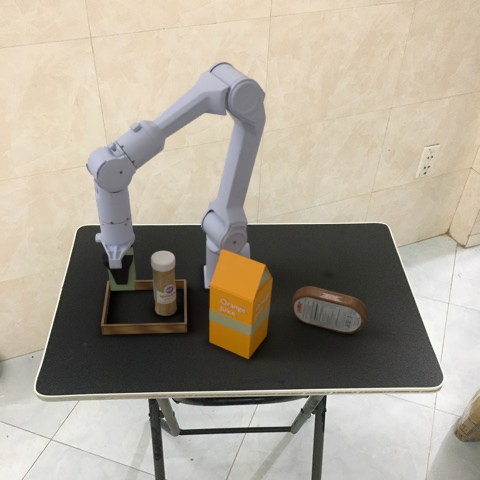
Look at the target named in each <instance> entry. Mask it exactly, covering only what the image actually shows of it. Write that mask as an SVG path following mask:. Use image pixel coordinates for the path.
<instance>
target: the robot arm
mask: <svg viewBox="0 0 480 480" xmlns="http://www.w3.org/2000/svg"><path fill="white" fill-rule="evenodd" d="M266 95H267V94H266V92H265V91H264V89H263V88H262V87H261V85H260V84H259V83H258V81H256V79H253V78H251V77H249V76H247V75H246V74H245V73H243V72H242V71H240V70H239V69H237V68H236V67H234V65H232V63H230V62H228V61H218V62H216V63H214V64H213V65H211V66H210V68H209V69H208V70H205V71H204V72H202V73H200V75H199V77H198V79H197V81H196V82H195V84H194V85H193V86H191V88H190V89H188V90H187V91H186V92H185V93H184V94H183V95H181V96H180V97H179V98H178V99H177V100H176V101H174V102H173V103H172V104H171V105H169V107H167V108H166V109H165V110H164V111H163V112H161V114H160V115H158V116H157V117H156V118H155V119H154V120H146V119H142V120H140V121H139V122H137V121H134V122H133V123H131V124H130V125H129V128H130V129H129V130H127V131H126V132H124V133H123V134H122V135H120V136H119V137H118V138H117V139H115V140H114V141H110V142H108V143H107V145H106V146H105V145H104V146H100V147H97V148H96V149H94V150H93V151H91V153H90V155H89V157H88V158H87V163H85V167H86V170H87V172H88V173H89V174H90V175H91V176H92V177H93V185H94V192H95V193H94V196H95V202H96V203H95V204H96V208H97V210H96V211H97V216H98V221H99V227H100V232H98V233H95V236H94V237H95V238H94V239H95V242H96V243H101V244H102V246H103V248H104V250H105V252H104V253H101V263H102V264H103V266H105V267H106V268H107V270H108V269H109V271H110V272H111V274H112V276H113V279H114V281H115V283H116V284H117V285H127V283H128V277H129V268H130V266H131V264H132V262H133V256H134V257H135V255H125V253H126V252H127V251H128V249H129V248H130V247H133V245H134V243H135V241H136V232H135V231H134V227H133V217H132V210H131V201H130V200H131V199H130V192H129V186H130V184H131V182H132V180H133V176H134V175H135V174H136V173H137V170H139V169H140V168H141V167H143V166H144V165H145V164H146V163H148V162H149V161H151V160H152V159H153V158H154V157H156V156H157V155H158V154H160V153H161V152H162V151H164V149H165V144H166V140H167V138H169V137H170V136H173V134H175V133H177V132H178V131H180V130H181V129H183V128H184V127H186V126H187V125H189V124H190V123H192V122H193V121H195V120H197V119H198V118H199V117H201V116H202V115H205V114H210V115H217V116H224V117H225V116H227V114H228V115H229V116H230V118H231V119H232V120H233V127H232V130H231V135H230V140H229V144H228V149H227V153H226V157H225V161H224V164H223V165H224V166H223V170H222V174H221V178H220V183H219V188H218V191H217V196H216V199H214V200H211V201H209V202H208V206H207V209H206V211H205V212H204V214H203V215H202V217H201V220H200V227H201V230H202V231H203V232H204V233H206V235H205V236H206V238H205V239H206V240H205V241H206V243H205V244H206V245H205V265H203V276H204V277H203V278H204V279H203V280H204V289H205V290H210V284H211V281H212V278H213V275H214V272H215V269H216V266H217V263H218V260H219V256H220V253H221V250H222V249H225V250H227V251H230V252H233V253H236V254H238V255H241V256H244V257H246V258H249V259H251V248H250V247H251V246H250V243H249V242H248V233H247V228H248V224H249V223H248V218H247V216H246V211H245V209H244V206H245V205H244V204H245V201H246V198H247V194H248V189H249V186H250V182H251V178H252V175H253V171H254V168H255V164H256V161H257V160H256V159H257V155H258V152H259V149H260V144H261V140H262V137H263V133H264V129H265V126H266V120H267V115H266V109H265V103H264V102H265V98H266Z"/></svg>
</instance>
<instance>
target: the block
mask: <svg viewBox="0 0 480 480" xmlns="http://www.w3.org/2000/svg"><path fill="white" fill-rule="evenodd" d="M125 255H134V247H133V246H132V247H130V248H129V249H128V251H127V252H126V253H125ZM107 271H108V277H109V278H108V279H109V281H110V285H111V291H114V292H115V291H136V290H135V282H136V280H137V272H136V271H137V270H136V263H135V255H134V256H133V262H132V264H131V266H130V268H129V277H128V283H127V285H117V284H116V283H115V281H114V279H113V276H112V274H111V272H110V271H109V269H108V268H107Z"/></svg>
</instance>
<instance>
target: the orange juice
mask: <svg viewBox="0 0 480 480" xmlns="http://www.w3.org/2000/svg"><path fill="white" fill-rule="evenodd" d="M273 279H274V278H273V276H272V273H271V272H270V270H269V268H268V266H267V264H265V263H262V262H259V261H257V260H255V259H252V258H250V259H249V258H246V257H244V256H241V255H238V254H236V253H233V252H230V251H227V250H225V249H222V250H221V253H220V256H219V260H218V263H217V266H216V269H215V272H214V275H213V278H212V281H211V284H210V289H209V309H208V310H209V311H208V312H209V313H208V315H209V316H208V320H209V335H208V337H209V339H208V340H209V342H208V343H210V344H213V345H215V346H218V347H220V348H222V349H224V350H227V351H229V352H231V353H234V354H235V355H238V356H240V357H243V358H245V359H247V360H250V358H251V357H252V355H253V354H254V353H255V351H256V350H257V349H258V347H259V346H260V345H261V344H262V342H263V341H264V340H265V338H266V337H267V336H268V335H267V334H268V325H269V318H270V317H269V316H270V310H271V299H272V298H271V297H272V290H273V281H274V280H273Z"/></svg>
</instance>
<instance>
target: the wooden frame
mask: <svg viewBox="0 0 480 480" xmlns="http://www.w3.org/2000/svg"><path fill="white" fill-rule="evenodd" d="M106 282H107V283H106V290H105V294H104V300H103V301H104V302H103V308H102V315H101V322H100V328H101V329H100V330H101V334H102V336H103V335H135V334H136V335H137V334H139V335H143V334H177V333H180V334H181V333H183V334H184V333H188V301H187V300H188V299H187V298H188V297H187V279H185V278H183V279H175V284H176V290H183V312H184V313H183V316H184V317H183V319H184V321H183V322H156V323H150V322H149V323H147V322H146V323H110V324H109V323H108V324H107V320H108V312H109V305H110V298H111V291H112V290H111V285H110V280H107V281H106ZM145 290H146V291H147V290H153V291H154V288H153V279H136V282H135V290H134V291H145Z"/></svg>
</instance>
